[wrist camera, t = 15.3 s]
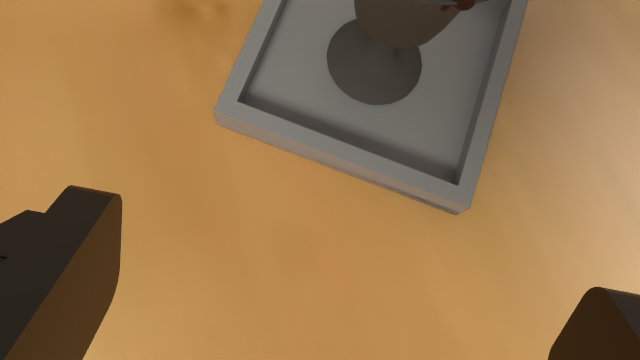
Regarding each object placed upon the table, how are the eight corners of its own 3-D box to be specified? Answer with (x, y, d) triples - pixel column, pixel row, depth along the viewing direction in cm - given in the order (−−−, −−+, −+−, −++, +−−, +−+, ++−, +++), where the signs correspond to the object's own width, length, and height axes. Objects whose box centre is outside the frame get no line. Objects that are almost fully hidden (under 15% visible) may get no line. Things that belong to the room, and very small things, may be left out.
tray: (216, 123, 26) (213, 110, 24) (304, -73, 30) (307, -98, 28) (455, 215, 26) (469, 207, 25) (514, 9, 30) (530, -10, 28)
